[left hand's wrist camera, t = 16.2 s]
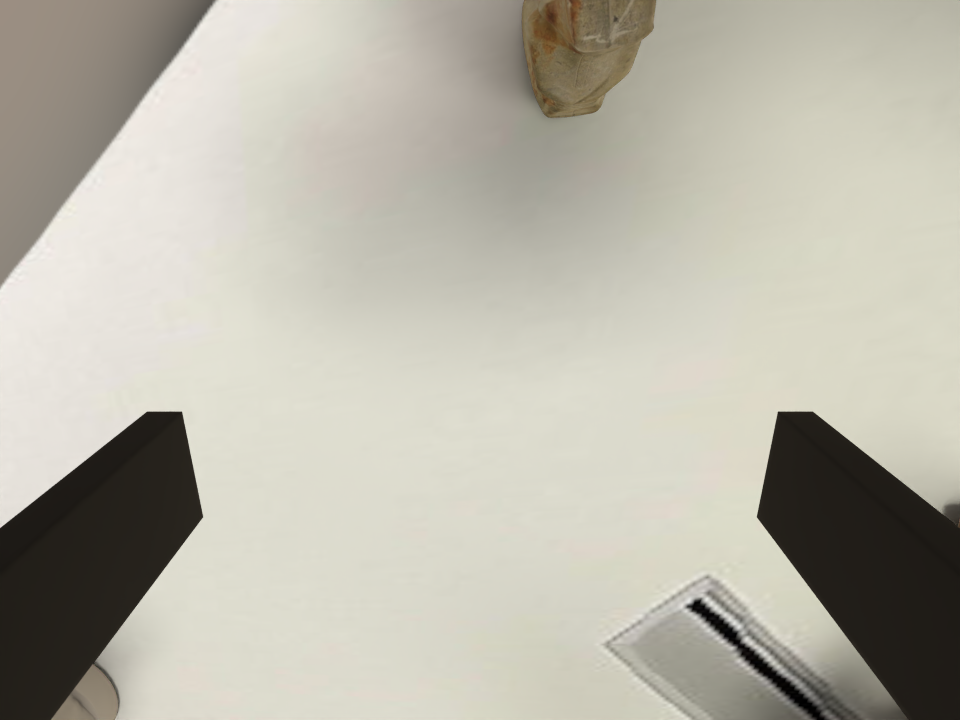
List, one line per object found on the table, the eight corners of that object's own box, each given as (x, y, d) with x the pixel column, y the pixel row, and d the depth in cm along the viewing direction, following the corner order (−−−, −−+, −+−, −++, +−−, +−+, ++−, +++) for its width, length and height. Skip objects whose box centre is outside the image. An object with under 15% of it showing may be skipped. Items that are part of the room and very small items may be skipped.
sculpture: (607, -16, 34) (696, -130, 20) (607, 115, 37) (687, 94, 23) (510, -6, 34) (531, -113, 20) (517, 122, 37) (540, 107, 23)
